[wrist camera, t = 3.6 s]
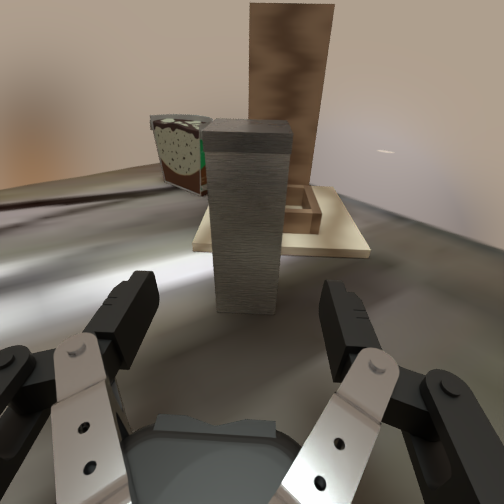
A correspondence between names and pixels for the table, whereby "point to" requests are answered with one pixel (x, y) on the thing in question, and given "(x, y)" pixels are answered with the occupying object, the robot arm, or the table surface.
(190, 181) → the food container
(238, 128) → the grey rectangular block
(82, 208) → the table surface
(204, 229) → the wooden backboard stand
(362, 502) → the table surface
